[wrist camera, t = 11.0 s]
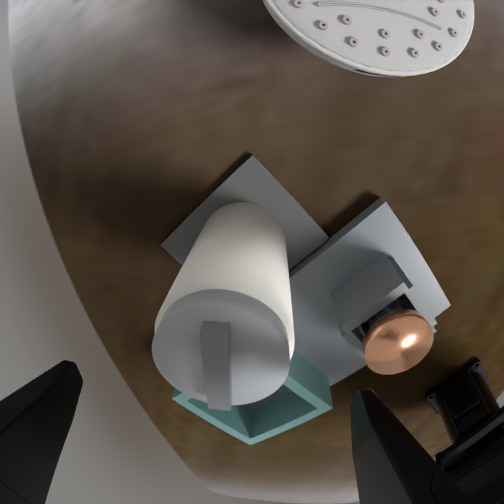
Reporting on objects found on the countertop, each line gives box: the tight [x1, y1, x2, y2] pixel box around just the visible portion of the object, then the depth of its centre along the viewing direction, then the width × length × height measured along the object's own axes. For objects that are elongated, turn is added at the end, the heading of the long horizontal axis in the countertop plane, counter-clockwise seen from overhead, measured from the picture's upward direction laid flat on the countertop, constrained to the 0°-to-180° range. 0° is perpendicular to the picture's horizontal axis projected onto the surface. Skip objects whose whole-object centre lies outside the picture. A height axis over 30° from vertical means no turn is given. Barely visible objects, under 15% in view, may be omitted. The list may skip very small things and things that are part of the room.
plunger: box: [362, 299, 434, 375], centre depth 17 cm, size 4×4×5 cm
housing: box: [172, 197, 450, 445], centre depth 20 cm, size 10×20×4 cm, turn 134°
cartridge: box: [152, 202, 295, 411], centre depth 14 cm, size 5×5×11 cm
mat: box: [161, 155, 329, 270], centre depth 19 cm, size 7×8×1 cm
